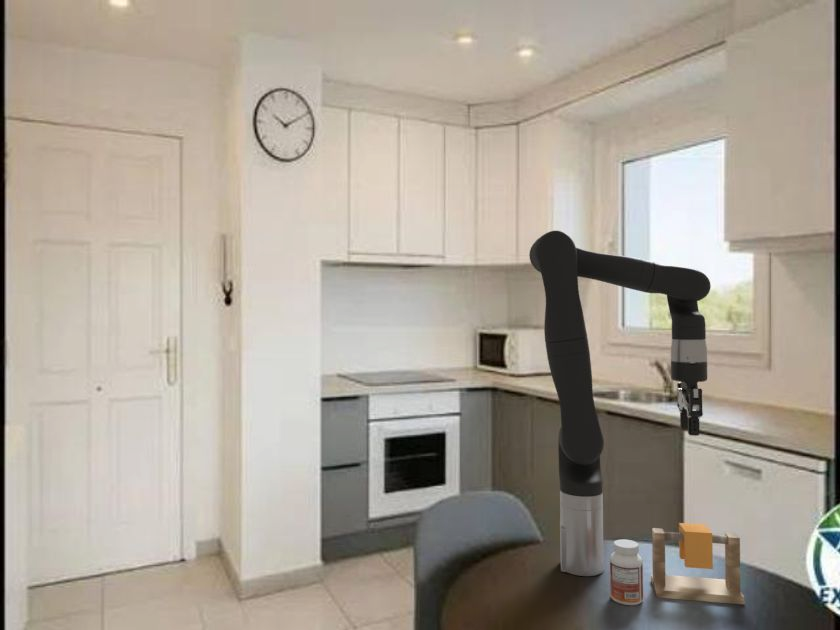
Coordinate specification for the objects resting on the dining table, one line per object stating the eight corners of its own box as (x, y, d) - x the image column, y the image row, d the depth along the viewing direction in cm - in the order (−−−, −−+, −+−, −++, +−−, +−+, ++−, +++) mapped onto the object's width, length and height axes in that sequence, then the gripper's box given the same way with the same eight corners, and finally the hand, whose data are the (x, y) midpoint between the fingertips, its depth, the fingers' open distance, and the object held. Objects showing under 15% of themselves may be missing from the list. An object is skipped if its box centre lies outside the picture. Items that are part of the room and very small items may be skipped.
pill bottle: (621, 589, 128) (621, 535, 128) (649, 600, 123) (648, 543, 123) (604, 598, 124) (603, 542, 124) (631, 609, 119) (631, 551, 119)
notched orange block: (685, 567, 124) (685, 531, 124) (679, 556, 129) (678, 522, 130) (712, 569, 123) (712, 533, 123) (705, 558, 128) (704, 524, 129)
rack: (657, 597, 124) (656, 537, 124) (651, 580, 132) (650, 524, 132) (744, 604, 121) (743, 542, 121) (732, 587, 128) (732, 528, 128)
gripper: (665, 357, 148) (666, 426, 147) (677, 361, 134) (678, 437, 133) (699, 357, 146) (700, 426, 146) (714, 361, 132) (715, 438, 132)
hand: (689, 431), depth 140 cm, fingers open, 8 cm apart
